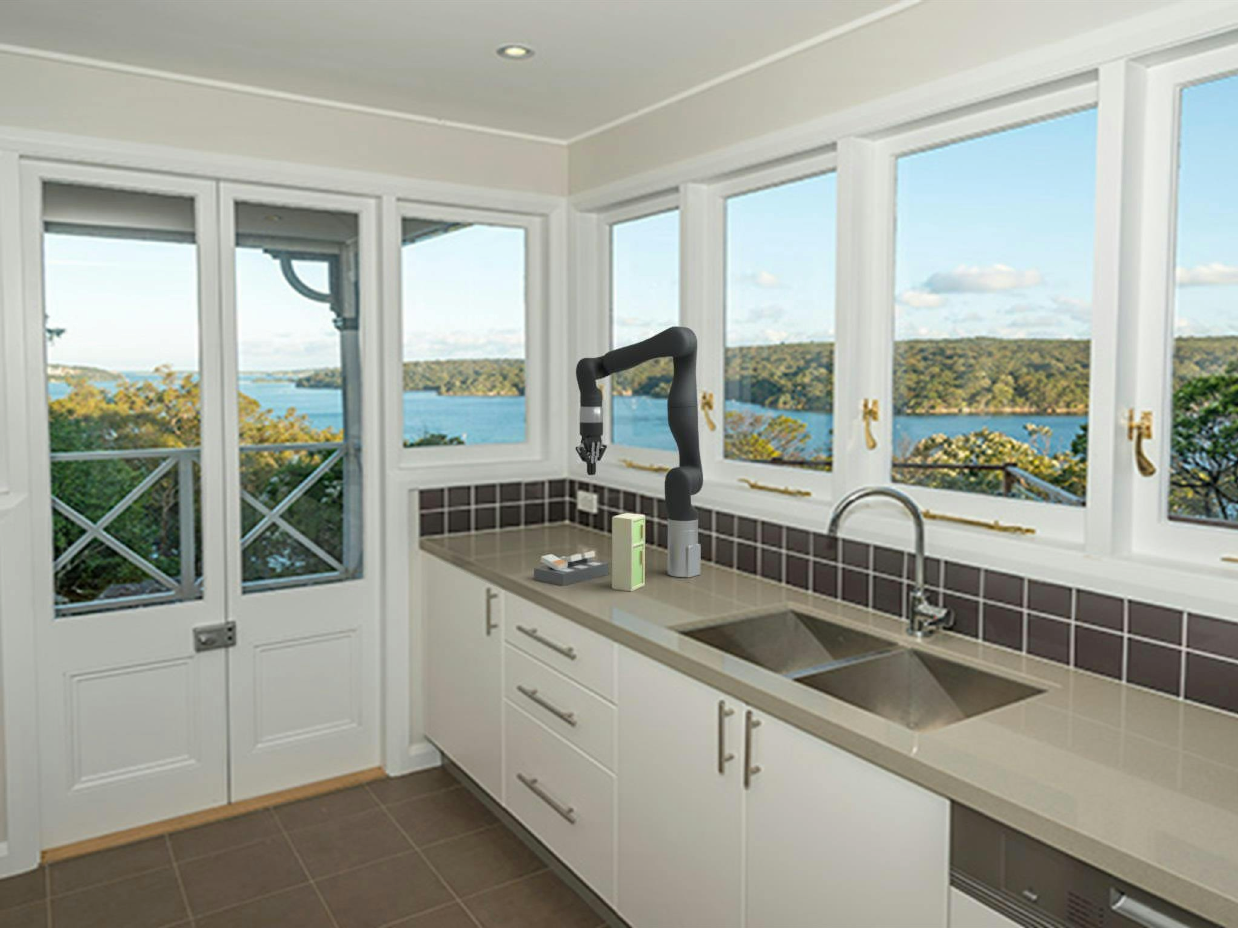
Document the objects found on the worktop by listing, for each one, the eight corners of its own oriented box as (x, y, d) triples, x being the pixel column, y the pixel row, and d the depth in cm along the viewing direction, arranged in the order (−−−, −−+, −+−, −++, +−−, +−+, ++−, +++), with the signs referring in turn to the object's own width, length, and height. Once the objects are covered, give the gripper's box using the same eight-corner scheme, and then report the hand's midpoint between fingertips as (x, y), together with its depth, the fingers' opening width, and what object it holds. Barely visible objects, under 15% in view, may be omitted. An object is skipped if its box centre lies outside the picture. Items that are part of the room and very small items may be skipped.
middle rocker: (581, 559, 284) (580, 553, 284) (571, 561, 280) (570, 555, 281) (565, 561, 288) (564, 556, 288) (555, 564, 285) (554, 558, 285)
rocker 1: (567, 568, 280) (568, 562, 279) (556, 570, 276) (557, 564, 276) (550, 558, 284) (551, 553, 283) (540, 561, 281) (541, 555, 280)
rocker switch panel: (617, 572, 291) (617, 558, 290) (562, 585, 273) (562, 571, 272) (588, 566, 298) (588, 553, 298) (534, 579, 280) (534, 565, 280)
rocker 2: (595, 556, 288) (594, 550, 288) (585, 558, 285) (584, 552, 285) (579, 558, 293) (578, 553, 293) (569, 561, 290) (568, 555, 290)
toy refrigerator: (633, 592, 265) (633, 518, 263) (611, 588, 269) (611, 516, 267) (647, 586, 272) (647, 514, 270) (625, 583, 276) (625, 512, 273)
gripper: (586, 422, 292) (586, 477, 293) (613, 420, 302) (613, 473, 303) (568, 421, 296) (568, 475, 298) (596, 419, 306) (596, 472, 308)
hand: (591, 474), depth 301 cm, fingers closed
